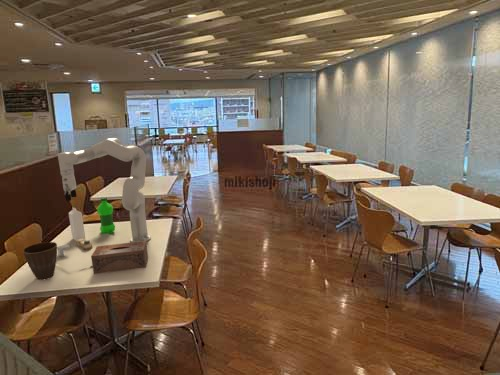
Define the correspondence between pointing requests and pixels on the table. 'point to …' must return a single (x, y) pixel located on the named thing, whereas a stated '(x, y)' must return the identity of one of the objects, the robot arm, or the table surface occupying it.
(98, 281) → the table surface
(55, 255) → the plant pot
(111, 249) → the tissue box cover
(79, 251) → the table surface
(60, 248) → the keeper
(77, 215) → the milk
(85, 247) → the link
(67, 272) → the table surface
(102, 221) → the plastic bottle
